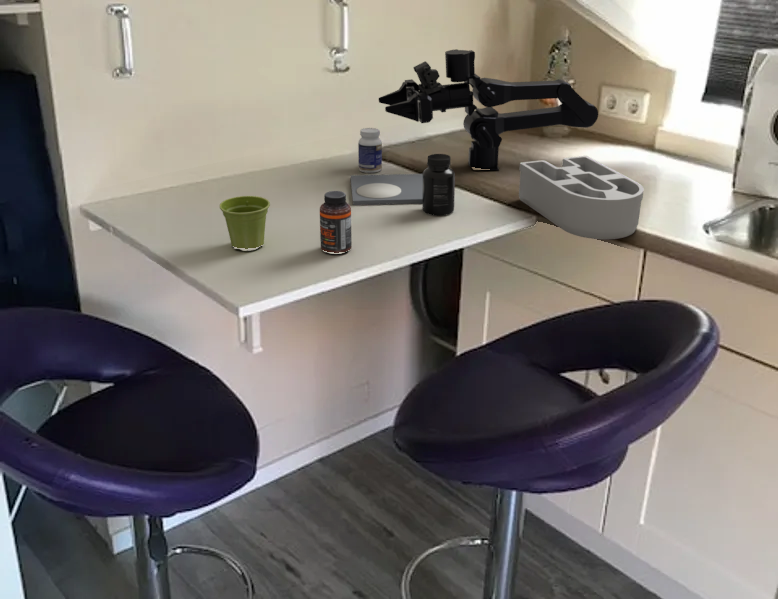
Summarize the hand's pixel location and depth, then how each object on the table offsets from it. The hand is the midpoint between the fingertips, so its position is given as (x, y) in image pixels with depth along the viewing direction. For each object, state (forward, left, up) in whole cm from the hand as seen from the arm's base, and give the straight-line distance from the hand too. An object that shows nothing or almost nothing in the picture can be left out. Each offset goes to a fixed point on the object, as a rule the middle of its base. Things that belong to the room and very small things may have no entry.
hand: (382, 104), depth 201 cm
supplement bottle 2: (-10, +27, -17) cm, 34 cm away
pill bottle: (+3, -3, -17) cm, 17 cm away
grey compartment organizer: (-40, +32, -17) cm, 54 cm away
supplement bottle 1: (+12, +47, -17) cm, 52 cm away
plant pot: (+29, +44, -17) cm, 55 cm away
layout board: (-3, +13, -17) cm, 21 cm away
